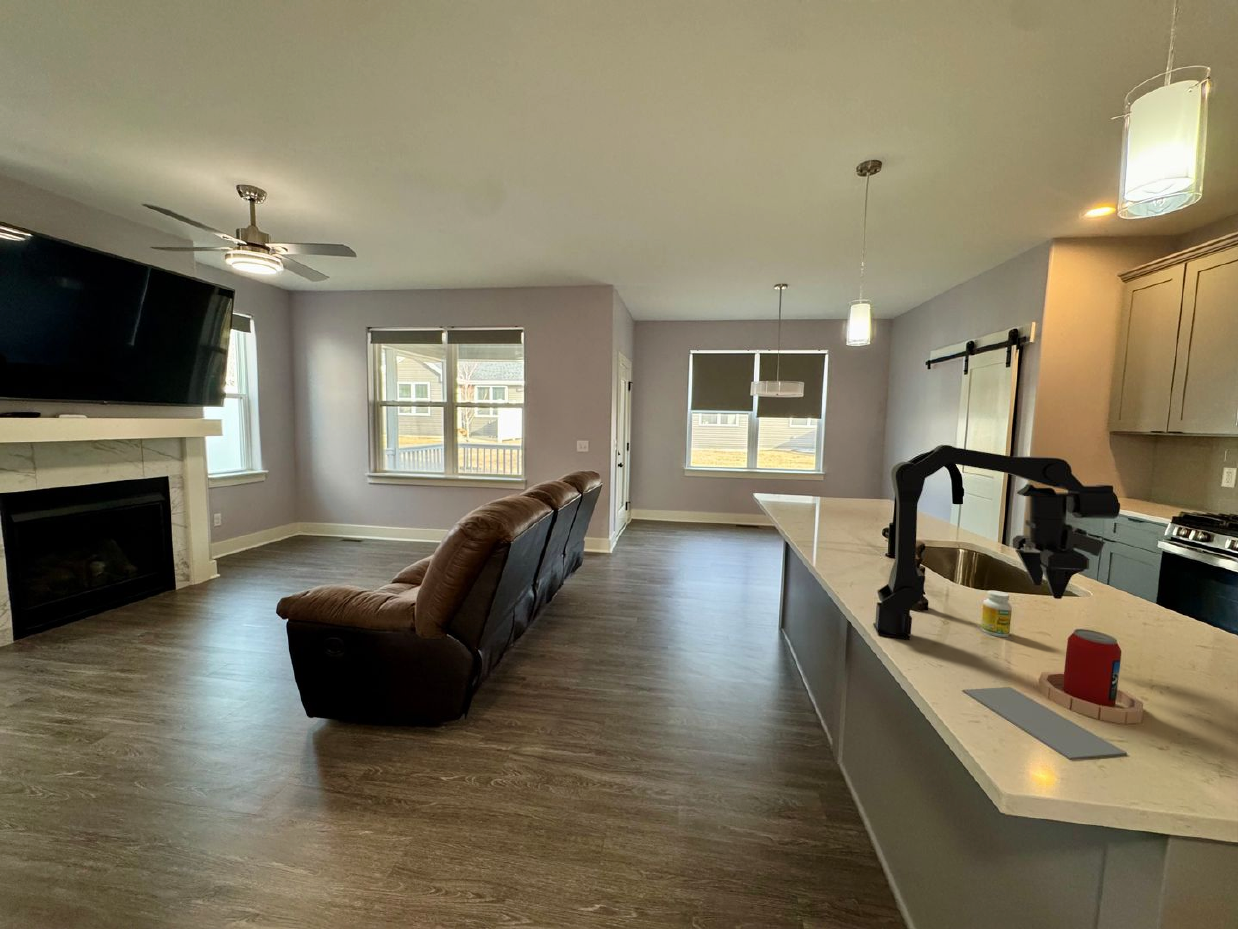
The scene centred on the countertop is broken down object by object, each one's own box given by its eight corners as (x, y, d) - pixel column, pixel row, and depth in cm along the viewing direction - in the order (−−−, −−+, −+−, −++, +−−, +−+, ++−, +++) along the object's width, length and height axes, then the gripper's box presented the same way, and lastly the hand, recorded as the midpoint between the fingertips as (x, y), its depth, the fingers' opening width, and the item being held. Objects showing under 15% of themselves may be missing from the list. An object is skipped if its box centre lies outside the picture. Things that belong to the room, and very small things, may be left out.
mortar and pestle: (894, 602, 133) (899, 537, 131) (916, 602, 133) (921, 538, 132) (910, 611, 126) (916, 543, 125) (934, 611, 127) (939, 544, 125)
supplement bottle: (992, 627, 117) (996, 588, 116) (1015, 636, 112) (1019, 596, 111) (974, 628, 116) (978, 589, 115) (996, 638, 111) (1000, 597, 110)
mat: (962, 691, 87) (962, 689, 87) (1010, 688, 88) (1010, 687, 88) (1069, 759, 69) (1069, 757, 69) (1126, 754, 71) (1127, 752, 71)
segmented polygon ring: (1063, 713, 81) (1064, 702, 81) (1025, 676, 93) (1026, 666, 93) (1163, 730, 77) (1165, 718, 77) (1109, 689, 89) (1110, 679, 89)
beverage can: (1126, 714, 81) (1134, 646, 80) (1079, 709, 82) (1086, 641, 82) (1095, 693, 88) (1102, 629, 87) (1052, 688, 89) (1059, 625, 88)
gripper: (1126, 526, 88) (1124, 610, 89) (1074, 511, 105) (1073, 581, 106) (1049, 525, 92) (1049, 605, 93) (1011, 510, 110) (1011, 578, 110)
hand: (1047, 591), depth 101 cm, fingers open, 9 cm apart
